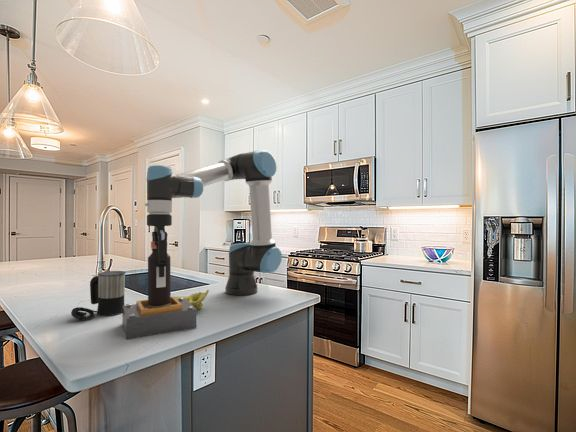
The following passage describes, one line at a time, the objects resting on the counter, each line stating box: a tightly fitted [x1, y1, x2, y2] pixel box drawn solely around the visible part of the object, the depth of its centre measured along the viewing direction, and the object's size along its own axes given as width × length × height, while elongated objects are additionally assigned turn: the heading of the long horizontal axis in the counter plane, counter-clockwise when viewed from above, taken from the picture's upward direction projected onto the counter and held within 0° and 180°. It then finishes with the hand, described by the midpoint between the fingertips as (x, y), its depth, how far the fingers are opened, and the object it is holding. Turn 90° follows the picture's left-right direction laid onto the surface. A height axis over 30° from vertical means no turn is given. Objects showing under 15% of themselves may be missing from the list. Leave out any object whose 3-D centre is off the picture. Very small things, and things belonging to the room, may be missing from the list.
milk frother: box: [71, 270, 126, 321], centre depth 116 cm, size 14×16×15 cm
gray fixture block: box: [121, 296, 198, 341], centre depth 104 cm, size 20×16×8 cm
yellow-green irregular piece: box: [174, 289, 210, 310], centre depth 126 cm, size 20×7×10 cm
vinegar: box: [147, 241, 172, 306], centre depth 104 cm, size 7×7×20 cm
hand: (159, 285), depth 104 cm, fingers closed on vinegar, 6 cm apart
